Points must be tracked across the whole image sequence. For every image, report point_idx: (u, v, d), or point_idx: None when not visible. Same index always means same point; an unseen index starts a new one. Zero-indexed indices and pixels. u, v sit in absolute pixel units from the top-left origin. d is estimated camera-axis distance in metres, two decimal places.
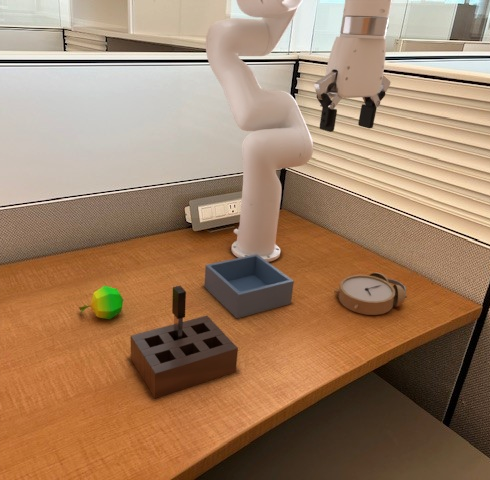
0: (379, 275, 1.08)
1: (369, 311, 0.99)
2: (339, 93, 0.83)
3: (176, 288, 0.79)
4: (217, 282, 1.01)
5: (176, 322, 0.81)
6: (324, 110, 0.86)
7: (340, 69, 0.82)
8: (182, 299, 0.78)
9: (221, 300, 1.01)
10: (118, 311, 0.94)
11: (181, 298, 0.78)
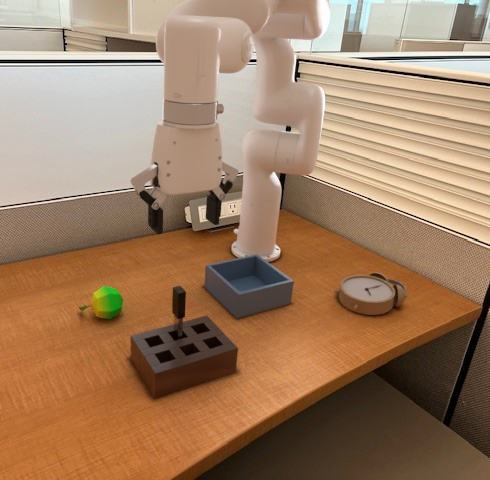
0: (379, 275, 1.08)
1: (369, 311, 0.99)
2: (162, 191, 0.68)
3: (176, 288, 0.79)
4: (217, 282, 1.01)
5: (176, 322, 0.81)
6: (149, 209, 0.70)
7: (160, 164, 0.67)
8: (182, 299, 0.78)
9: (221, 300, 1.01)
10: (118, 311, 0.94)
11: (181, 298, 0.78)
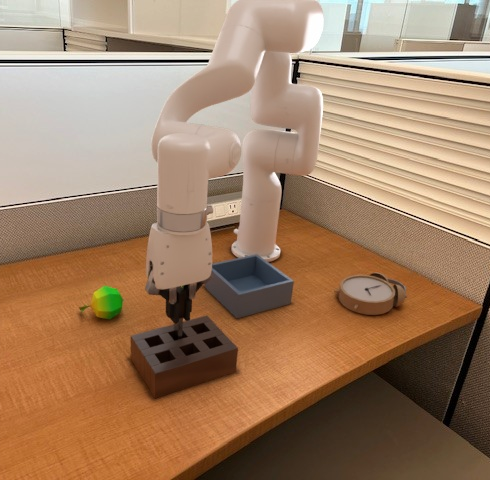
0: (379, 275, 1.08)
1: (369, 311, 0.99)
2: (157, 287, 0.74)
3: (176, 288, 0.79)
4: (217, 282, 1.01)
5: None
6: (167, 302, 0.79)
7: (155, 263, 0.73)
8: (182, 299, 0.78)
9: (221, 300, 1.01)
10: (118, 311, 0.94)
11: (181, 298, 0.78)
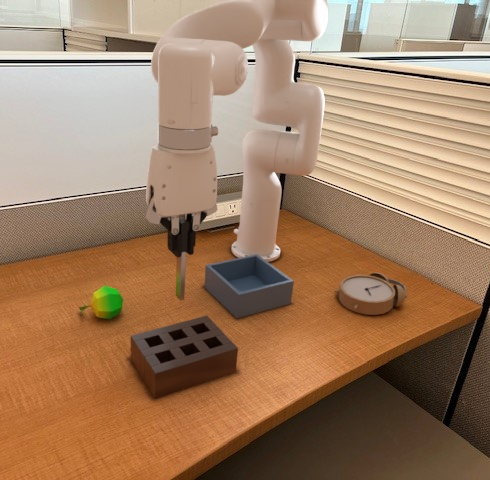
0: (379, 275, 1.08)
1: (369, 311, 0.99)
2: (158, 213, 0.69)
3: (179, 219, 0.74)
4: (217, 282, 1.01)
5: (179, 257, 0.76)
6: (169, 233, 0.74)
7: (155, 187, 0.68)
8: (185, 230, 0.73)
9: (221, 300, 1.01)
10: (118, 311, 0.94)
11: (184, 229, 0.73)
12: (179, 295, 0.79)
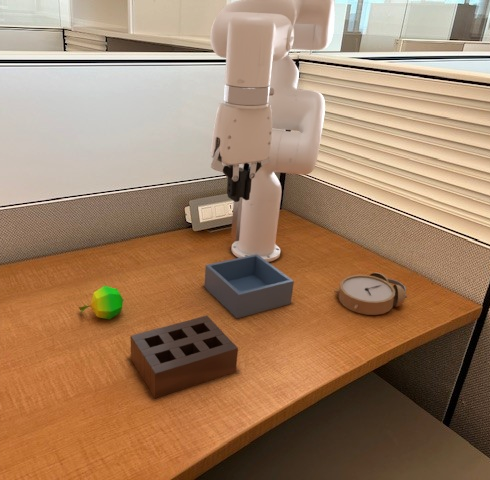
0: (379, 275, 1.08)
1: (369, 311, 0.99)
2: (223, 161, 0.82)
3: None
4: (217, 282, 1.01)
5: (236, 202, 0.88)
6: (229, 181, 0.86)
7: (222, 138, 0.80)
8: (243, 178, 0.86)
9: (221, 300, 1.01)
10: (118, 311, 0.94)
11: (242, 177, 0.85)
12: (235, 237, 0.91)
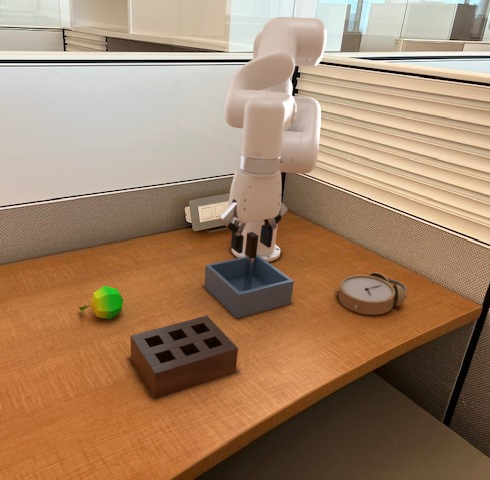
0: (379, 275, 1.08)
1: (369, 311, 0.99)
2: (239, 220, 0.93)
3: (250, 233, 0.99)
4: (217, 282, 1.01)
5: (248, 262, 1.01)
6: (233, 235, 0.96)
7: (238, 201, 0.92)
8: (255, 242, 0.98)
9: (221, 300, 1.01)
10: (118, 311, 0.94)
11: (254, 241, 0.98)
12: None
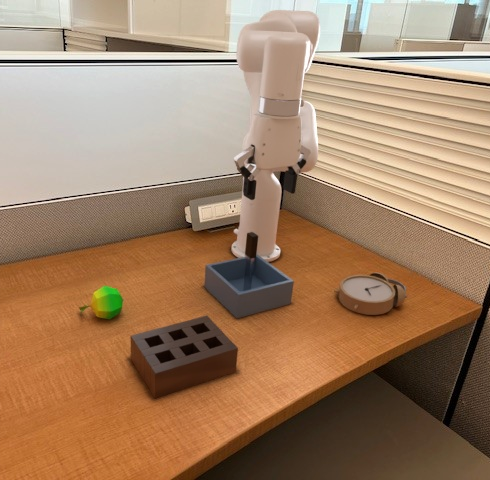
0: (379, 275, 1.08)
1: (369, 311, 0.99)
2: (257, 166, 0.90)
3: (250, 233, 0.99)
4: (217, 282, 1.01)
5: (248, 262, 1.01)
6: (245, 180, 0.92)
7: (257, 145, 0.88)
8: (255, 242, 0.98)
9: (221, 300, 1.01)
10: (118, 311, 0.94)
11: (254, 241, 0.98)
12: None
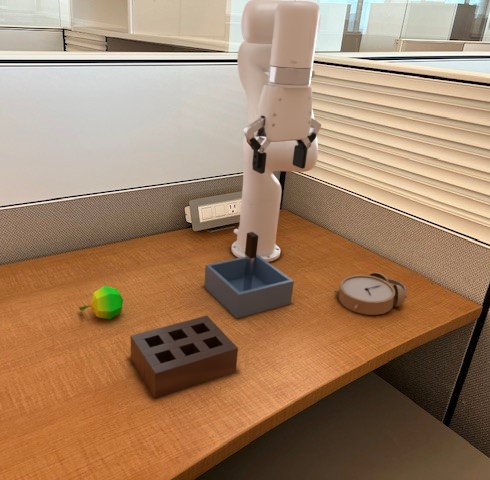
0: (379, 275, 1.08)
1: (369, 311, 0.99)
2: (267, 138, 0.87)
3: (250, 233, 0.99)
4: (217, 282, 1.01)
5: (248, 262, 1.01)
6: (255, 153, 0.90)
7: (267, 116, 0.86)
8: (255, 242, 0.98)
9: (221, 300, 1.01)
10: (118, 311, 0.94)
11: (254, 241, 0.98)
12: None
